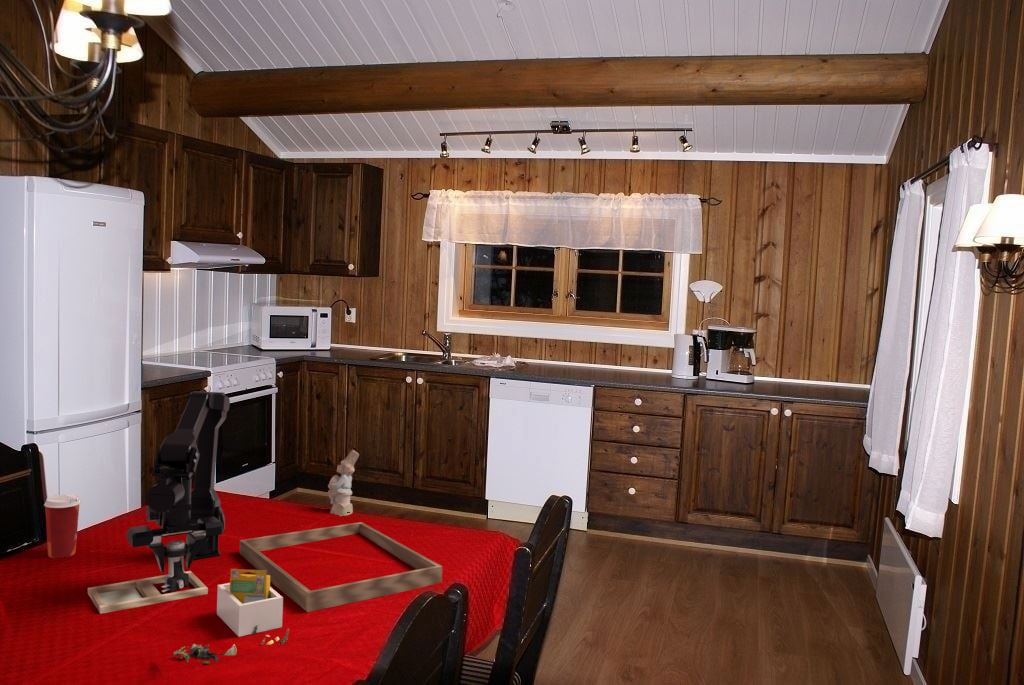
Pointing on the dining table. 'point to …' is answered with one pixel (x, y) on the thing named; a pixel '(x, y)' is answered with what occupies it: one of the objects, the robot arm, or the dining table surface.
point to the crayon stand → (249, 612)
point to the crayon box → (249, 585)
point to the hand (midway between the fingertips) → (175, 569)
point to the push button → (176, 565)
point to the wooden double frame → (128, 597)
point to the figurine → (342, 486)
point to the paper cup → (62, 525)
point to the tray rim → (344, 593)
